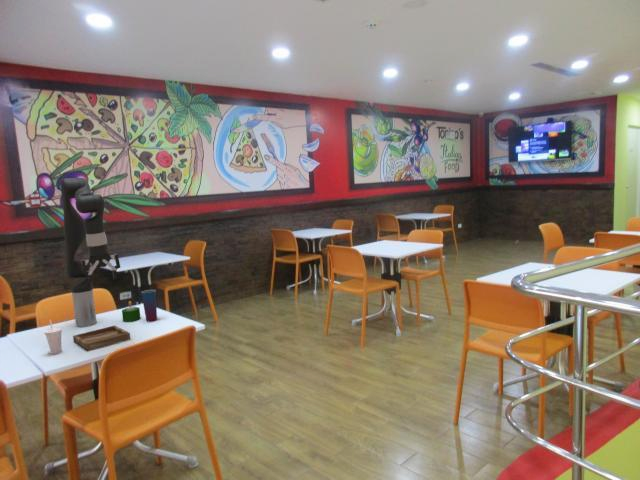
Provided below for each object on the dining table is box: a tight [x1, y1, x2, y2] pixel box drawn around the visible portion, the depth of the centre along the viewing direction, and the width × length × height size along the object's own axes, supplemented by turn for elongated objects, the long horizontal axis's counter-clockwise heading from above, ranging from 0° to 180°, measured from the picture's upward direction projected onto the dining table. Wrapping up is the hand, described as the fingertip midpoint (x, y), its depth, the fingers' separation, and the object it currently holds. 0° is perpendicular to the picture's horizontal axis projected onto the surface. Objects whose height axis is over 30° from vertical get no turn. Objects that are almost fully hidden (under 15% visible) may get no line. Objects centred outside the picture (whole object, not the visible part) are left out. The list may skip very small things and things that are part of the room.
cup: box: [141, 289, 158, 323], centre depth 228 cm, size 7×7×15 cm
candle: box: [121, 300, 142, 323], centre depth 232 cm, size 8×8×10 cm
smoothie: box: [44, 319, 63, 355], centre depth 189 cm, size 6×6×14 cm
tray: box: [72, 325, 132, 352], centre depth 201 cm, size 18×18×3 cm
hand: (103, 280), depth 191 cm, fingers open, 8 cm apart
